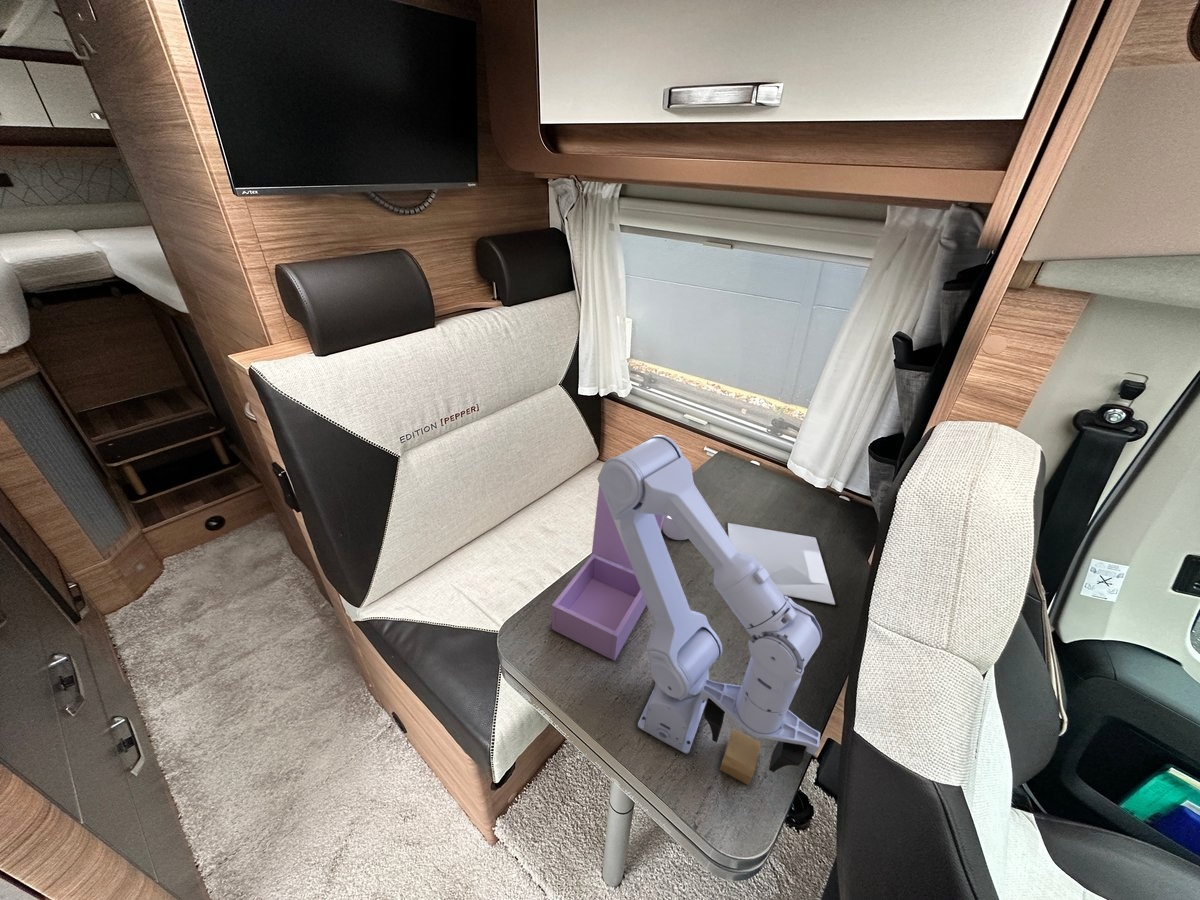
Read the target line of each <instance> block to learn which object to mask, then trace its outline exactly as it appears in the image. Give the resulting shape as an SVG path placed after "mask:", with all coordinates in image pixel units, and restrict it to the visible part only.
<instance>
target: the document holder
mask: <svg viewBox="0 0 1200 900" xmlns="http://www.w3.org/2000/svg"><path fill="white" fill-rule="evenodd" d="M727 536H728V537H729V539H730V540H731V542H732V543H733V545H734V546H735V548H736V550H737V551H738V552H740V553H744V554H748V555H751V556H754V557H755V558H756V560H757V561H758V562H759V564H760V565H761V566H762V567H764V568H765V569H766V571H767V572H768V573H769V575H770V578H771V579H772V581H773V582H774V583H775V585H776V586H777V587H778V589H779V590H780V591H781V593H782V594H783V595H784V596H787V597H788V598H795V599H800V600H806V601H811V602H816V603H821V604H822V603H823V604H828V605H832V606H833V605H834V606H836V602H835V598H834V594H833V592H832V588H831V585H830V581H829V578H828V574H827V572H826V568H825V564H824V561H823V558H822V554H821V550H820V547H819V544H818V541H817V538H816V537H814V536H809V535H803V534H798V533H797V534H796V533H790V532H786V531H785V532H784V531H779V530H772V529H766V528H762V527H755V526H750V525H749V526H748V525H742V524H737V523H730V522H727Z"/></svg>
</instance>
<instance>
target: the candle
mask: <svg viewBox="0 0 1200 900" xmlns="http://www.w3.org/2000/svg"><path fill="white" fill-rule="evenodd" d="M661 530H662V532H663V533H664V535H665V536H666V537H668V538H669V539H672V540H675V541H685V540H689V539H688V537H687V536H686V535H685V534H684V533H683V531H682V530H681V529H680V528H679V527H678V526H677V524H676V523H675V522H674V521H673V520H672V519H671V517H670V516H667V515H664V517H663V523H662V528H661Z"/></svg>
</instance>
